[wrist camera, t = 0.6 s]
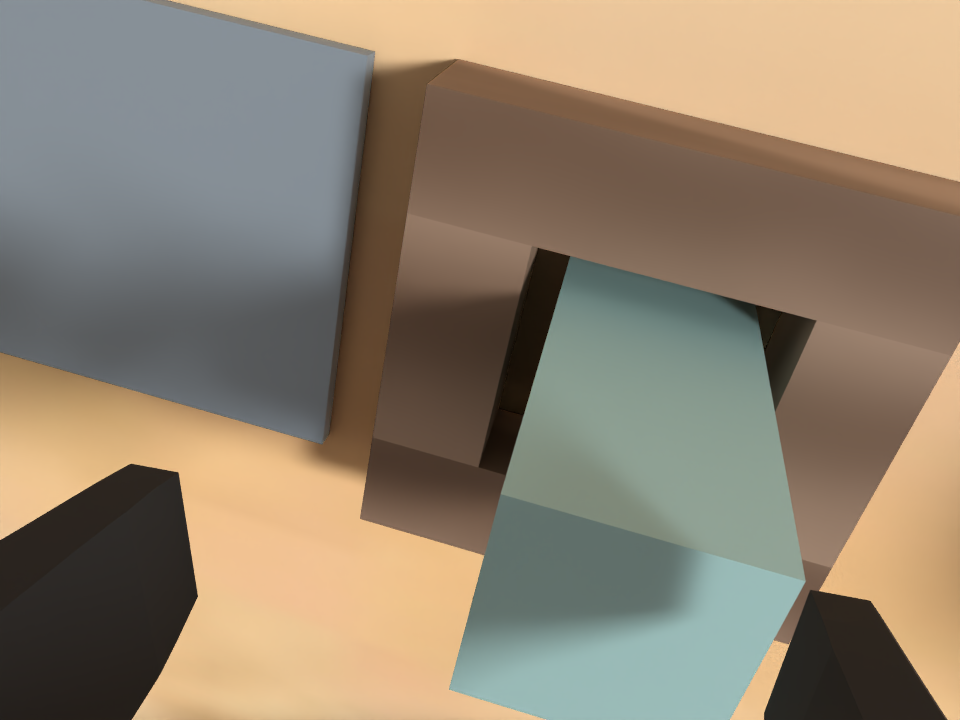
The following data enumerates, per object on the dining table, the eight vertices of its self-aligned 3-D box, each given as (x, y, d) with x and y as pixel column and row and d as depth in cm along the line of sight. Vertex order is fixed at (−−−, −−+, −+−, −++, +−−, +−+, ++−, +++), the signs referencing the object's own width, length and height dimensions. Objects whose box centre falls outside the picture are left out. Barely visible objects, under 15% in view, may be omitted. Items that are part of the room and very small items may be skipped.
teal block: (694, 435, 20) (703, 767, 13) (534, 391, 21) (448, 689, 13) (752, 289, 18) (806, 580, 11) (574, 243, 19) (500, 494, 11)
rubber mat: (329, 433, 23) (322, 444, 22) (-13, 336, 23) (-26, 344, 23) (375, 51, 17) (367, 55, 17) (-65, -57, 18) (-83, -56, 18)
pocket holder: (777, 569, 22) (788, 643, 20) (390, 458, 23) (360, 518, 20) (977, 186, 16) (1021, 231, 14) (458, 59, 17) (426, 83, 15)
